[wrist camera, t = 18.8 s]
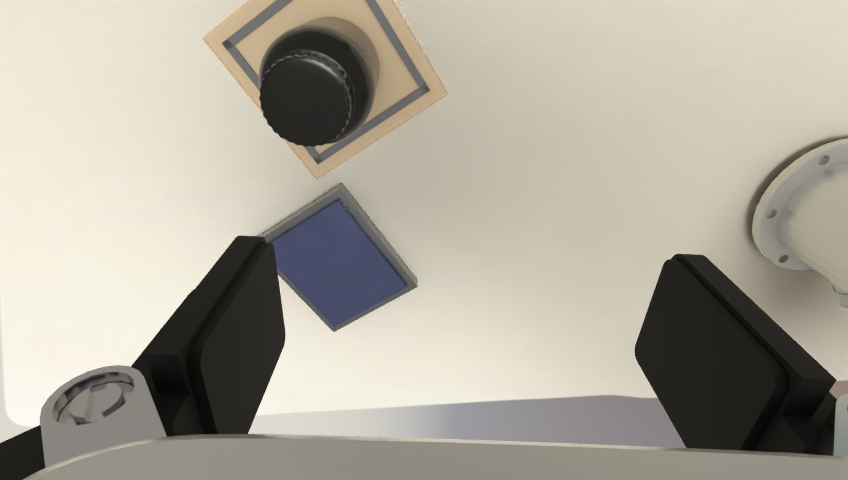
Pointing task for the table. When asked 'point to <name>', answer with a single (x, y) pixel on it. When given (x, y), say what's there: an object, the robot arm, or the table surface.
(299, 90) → the supplement bottle
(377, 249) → the ink pad
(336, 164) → the card
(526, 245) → the table surface
